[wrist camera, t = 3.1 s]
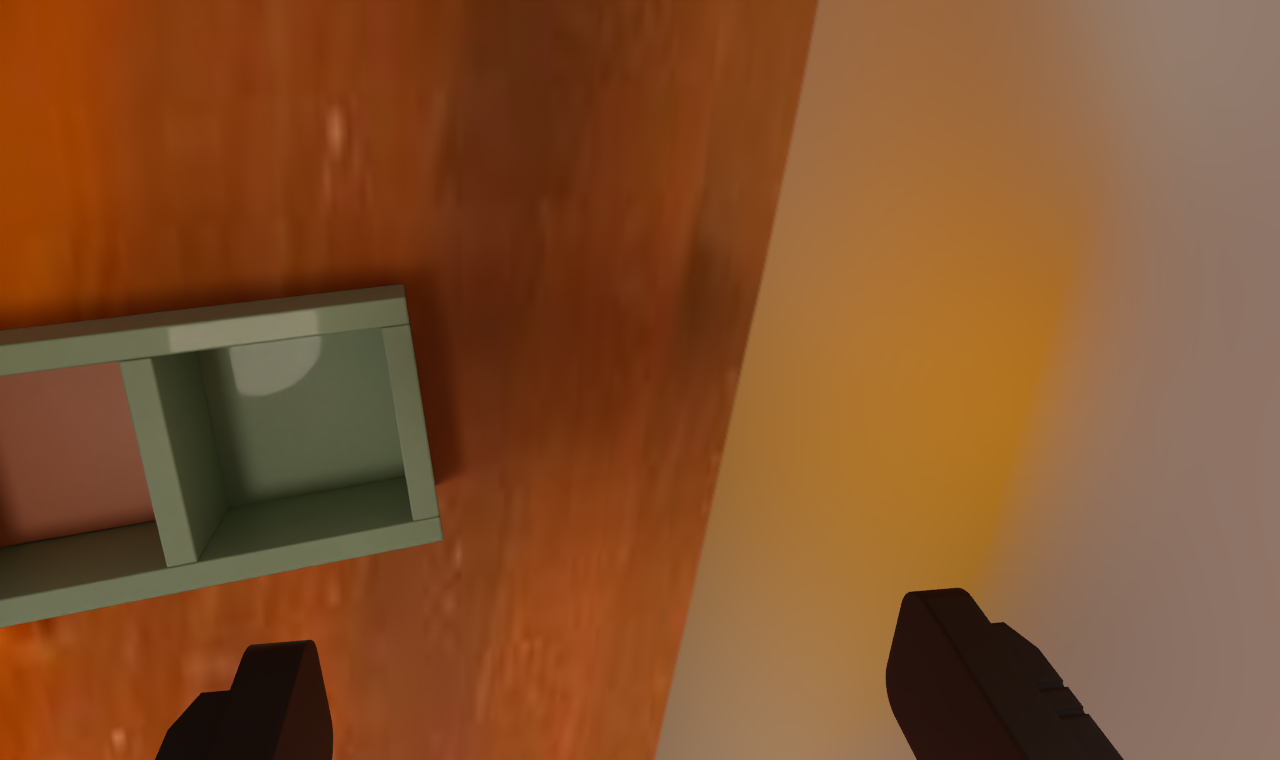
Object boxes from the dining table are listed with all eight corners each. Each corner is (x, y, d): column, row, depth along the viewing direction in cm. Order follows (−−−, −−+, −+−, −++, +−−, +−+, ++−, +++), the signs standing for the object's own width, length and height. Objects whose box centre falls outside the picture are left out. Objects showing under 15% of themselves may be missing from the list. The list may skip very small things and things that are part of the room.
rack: (-79, 339, 31) (-203, 369, 25) (403, 283, 36) (405, 296, 29) (-14, 567, 33) (-112, 650, 27) (435, 487, 38) (443, 541, 31)
